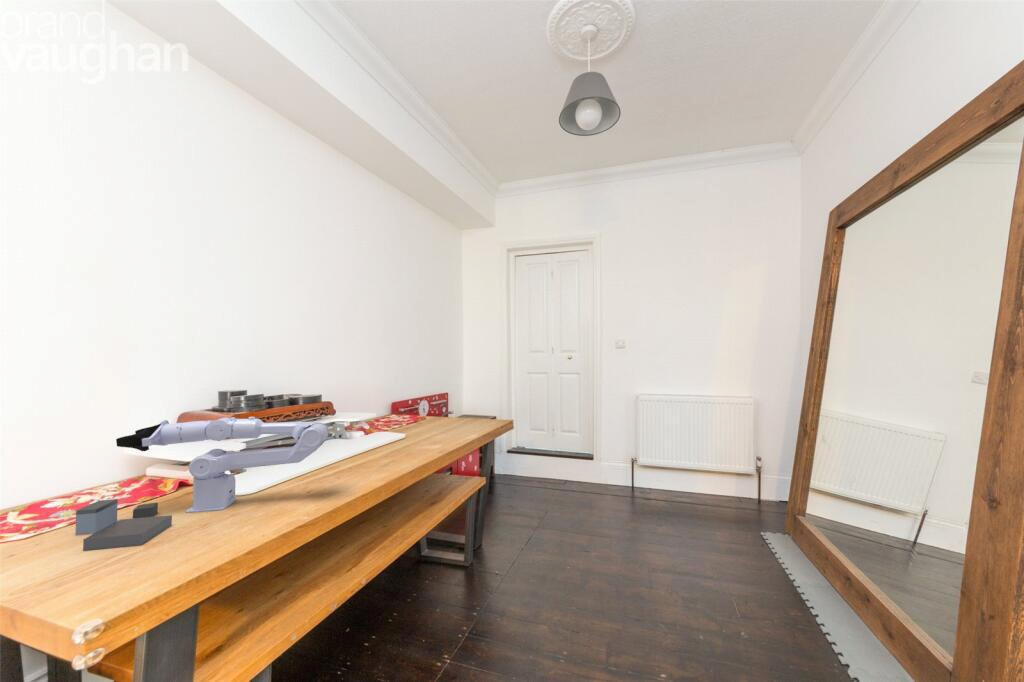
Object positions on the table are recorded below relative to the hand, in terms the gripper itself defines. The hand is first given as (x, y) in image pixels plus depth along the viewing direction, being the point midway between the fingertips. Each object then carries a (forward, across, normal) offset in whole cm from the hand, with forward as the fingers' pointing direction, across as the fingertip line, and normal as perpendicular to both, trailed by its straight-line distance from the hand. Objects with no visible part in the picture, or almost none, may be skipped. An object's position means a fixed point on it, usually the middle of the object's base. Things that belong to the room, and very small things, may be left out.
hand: (127, 438), depth 110 cm
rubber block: (-5, +6, +21) cm, 22 cm away
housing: (+2, +11, +20) cm, 23 cm away
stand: (-10, +20, +19) cm, 29 cm away
